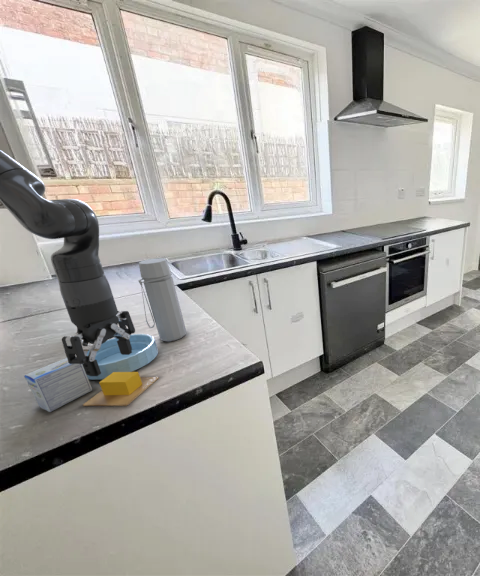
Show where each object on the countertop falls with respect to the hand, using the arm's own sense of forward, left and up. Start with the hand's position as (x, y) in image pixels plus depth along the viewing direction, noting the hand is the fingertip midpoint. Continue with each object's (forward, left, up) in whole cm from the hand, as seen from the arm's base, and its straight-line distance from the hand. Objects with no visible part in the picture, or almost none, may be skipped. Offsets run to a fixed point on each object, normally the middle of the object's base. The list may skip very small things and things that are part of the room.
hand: (111, 364), depth 70 cm
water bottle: (-6, +26, -8) cm, 28 cm away
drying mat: (0, 0, -8) cm, 8 cm away
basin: (-10, +12, -8) cm, 17 cm away
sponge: (0, 0, -7) cm, 7 cm away
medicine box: (-11, -2, -8) cm, 13 cm away
